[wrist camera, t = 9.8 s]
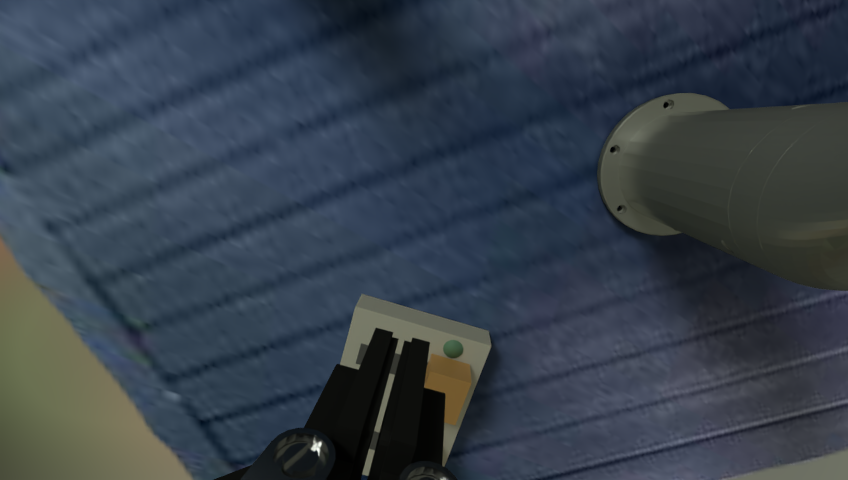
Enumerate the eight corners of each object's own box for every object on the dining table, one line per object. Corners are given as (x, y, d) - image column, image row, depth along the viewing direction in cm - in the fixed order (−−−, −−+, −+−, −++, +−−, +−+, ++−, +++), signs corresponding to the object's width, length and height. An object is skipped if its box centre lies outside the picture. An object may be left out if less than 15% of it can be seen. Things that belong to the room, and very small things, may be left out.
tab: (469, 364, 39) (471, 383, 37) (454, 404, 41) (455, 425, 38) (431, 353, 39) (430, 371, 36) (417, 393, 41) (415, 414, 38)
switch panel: (488, 330, 42) (491, 346, 39) (434, 471, 48) (433, 495, 45) (361, 293, 42) (355, 306, 39) (322, 440, 47) (314, 461, 44)
